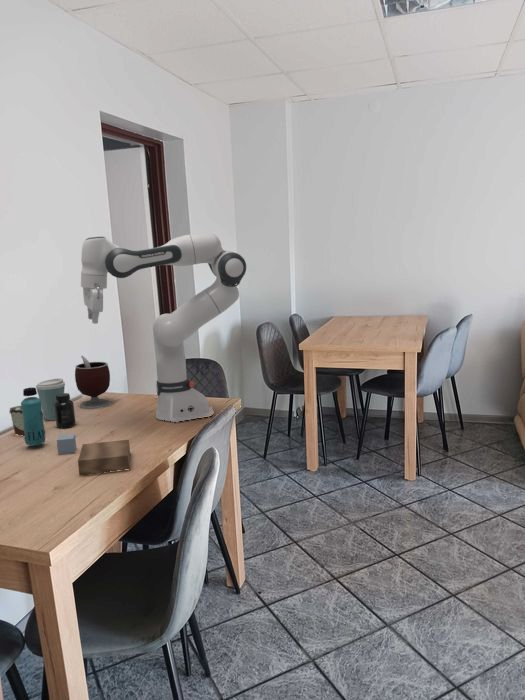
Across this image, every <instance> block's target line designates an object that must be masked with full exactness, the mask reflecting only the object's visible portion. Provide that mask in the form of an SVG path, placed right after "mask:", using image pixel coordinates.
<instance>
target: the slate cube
mask: <svg viewBox="0 0 525 700" xmlns="http://www.w3.org/2000/svg"><path fill="white" fill-rule="evenodd" d="M76 439H77V438H76V433H70V434H69V433H67V434H66V433H65V434H59V435H58V436H57V439H56V447H57V454H58V456H61V455H62V456H63V455H68V454H69V455H70V454H71V455H72V454H75V453H76V451H77V441H76Z"/></svg>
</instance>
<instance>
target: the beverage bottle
mask: <svg viewBox="0 0 525 700" xmlns="http://www.w3.org/2000/svg"><path fill="white" fill-rule="evenodd" d="M22 392H23V393H22V395H23V397H26V398H23V399H22V401H21V402H20V406H21V407H22V415H23V423H24V429H23V430H24V436H25V437H24V442H25V443H24V444H26V445H27V446H36V445H41V444H44V443H45V441H46V430H45V423H44V414H43V410H42V406H41V400H40V399H39V397H37V396H36V395H38V392H37V388H36V387H26V388H23V391H22Z"/></svg>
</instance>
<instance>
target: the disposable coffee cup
mask: <svg viewBox="0 0 525 700" xmlns="http://www.w3.org/2000/svg"><path fill="white" fill-rule="evenodd" d="M65 385H66V382H65V381H64V379H63V378H61V377H60V378H51V379H50V378H49V379H47V380H43V381H40V382H38V383H37V384H36V385H35V388H36V392H37V395H38V398H39V399H40V400H41V407H42V411H43V413H42V415H43V418H45V420H46V419H47V420H46V421H56V419H55V410H54V404H55V403H56V402H57V401H56V395H58V394H62V393H65Z"/></svg>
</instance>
